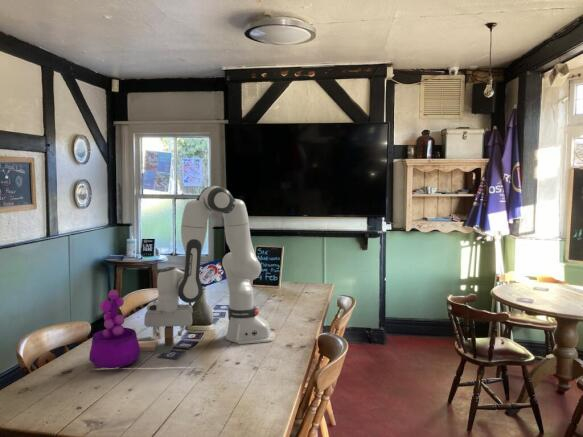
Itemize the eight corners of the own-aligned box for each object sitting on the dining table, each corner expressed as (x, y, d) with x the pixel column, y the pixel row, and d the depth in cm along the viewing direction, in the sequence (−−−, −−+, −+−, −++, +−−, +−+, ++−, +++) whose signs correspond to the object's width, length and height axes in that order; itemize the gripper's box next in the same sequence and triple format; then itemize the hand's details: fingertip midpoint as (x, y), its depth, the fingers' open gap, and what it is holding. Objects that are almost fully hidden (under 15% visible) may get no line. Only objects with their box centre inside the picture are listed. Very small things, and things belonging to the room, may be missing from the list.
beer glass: (161, 341, 215) (160, 308, 214) (147, 340, 216) (146, 308, 215) (168, 336, 222) (167, 304, 220) (154, 335, 223) (153, 303, 222)
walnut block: (172, 346, 208) (171, 328, 207) (164, 346, 208) (164, 328, 207) (173, 343, 211) (173, 325, 210) (166, 343, 211) (165, 325, 210)
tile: (158, 341, 209) (137, 341, 208) (154, 346, 202) (132, 347, 201) (158, 345, 209) (137, 345, 208) (154, 351, 202) (132, 351, 201)
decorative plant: (91, 378, 177) (89, 298, 174) (87, 360, 193) (85, 287, 190) (144, 368, 185) (142, 292, 182) (136, 352, 202) (134, 282, 199)
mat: (174, 344, 212) (174, 343, 211) (169, 354, 200) (169, 353, 200) (132, 345, 210) (132, 343, 210) (125, 355, 199) (125, 353, 199)
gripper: (193, 302, 211) (194, 333, 213) (146, 303, 210) (147, 333, 212) (191, 306, 205) (192, 337, 206) (142, 307, 204) (143, 338, 205)
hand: (168, 335), depth 209 cm, fingers open, 8 cm apart
